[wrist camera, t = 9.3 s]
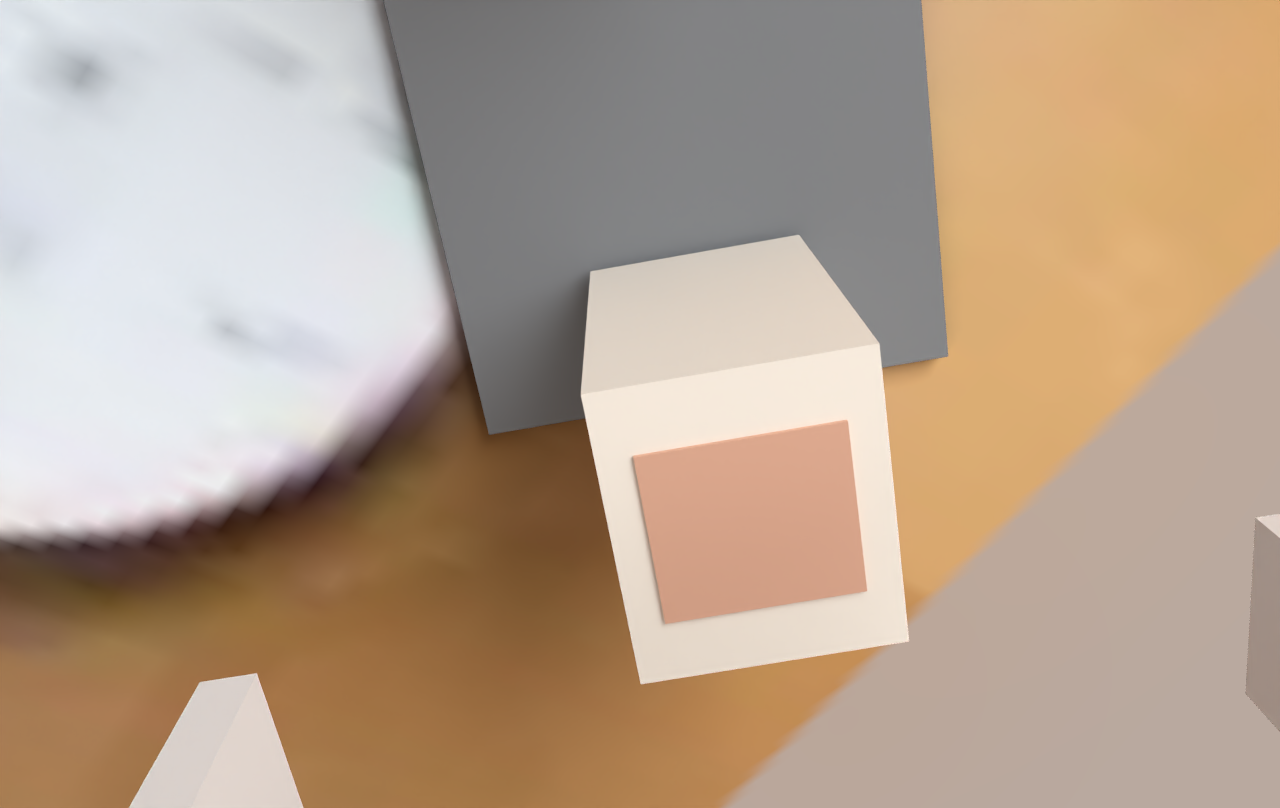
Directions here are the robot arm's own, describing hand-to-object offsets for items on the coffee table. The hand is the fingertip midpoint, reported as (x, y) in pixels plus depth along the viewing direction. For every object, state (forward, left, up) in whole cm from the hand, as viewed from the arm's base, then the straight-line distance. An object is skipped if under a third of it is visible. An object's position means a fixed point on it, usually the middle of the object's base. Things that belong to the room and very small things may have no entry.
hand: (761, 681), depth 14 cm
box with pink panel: (+1, -2, -18) cm, 18 cm away
